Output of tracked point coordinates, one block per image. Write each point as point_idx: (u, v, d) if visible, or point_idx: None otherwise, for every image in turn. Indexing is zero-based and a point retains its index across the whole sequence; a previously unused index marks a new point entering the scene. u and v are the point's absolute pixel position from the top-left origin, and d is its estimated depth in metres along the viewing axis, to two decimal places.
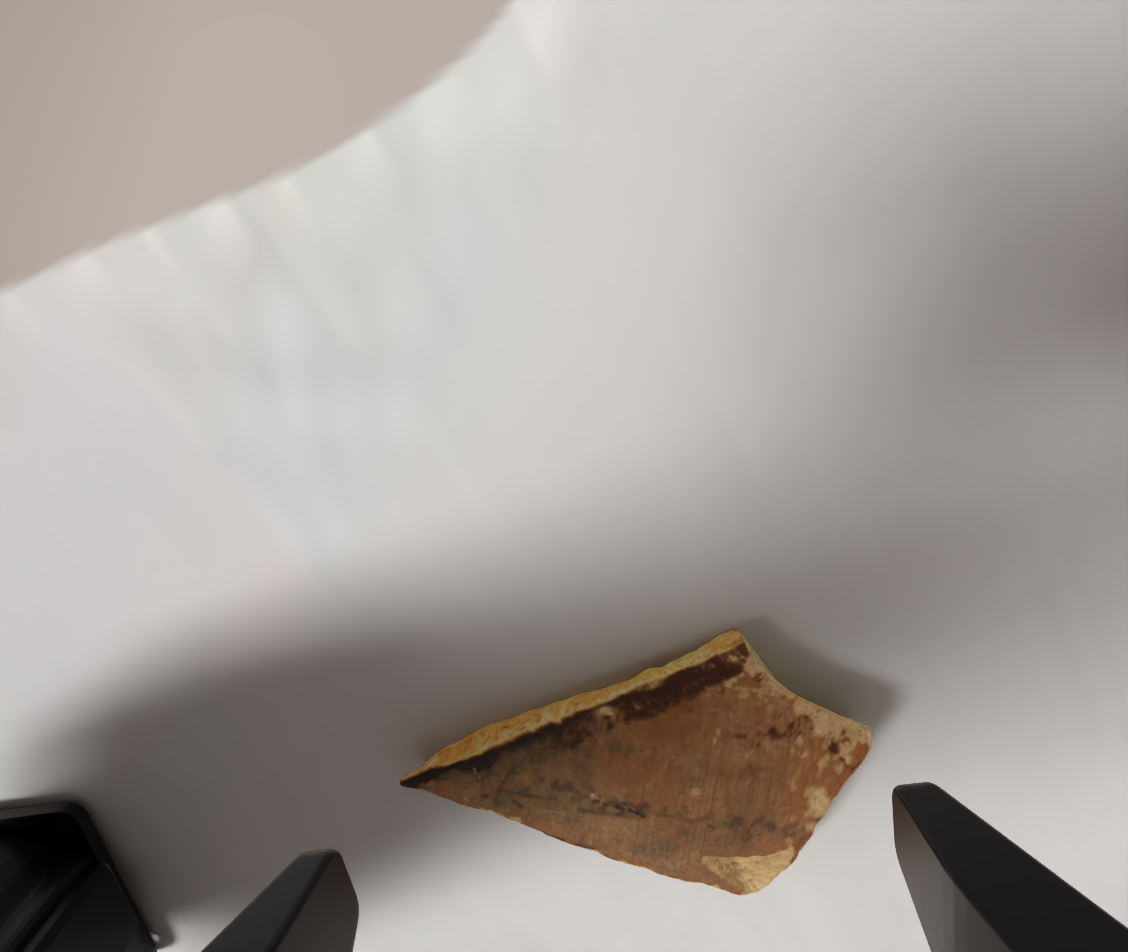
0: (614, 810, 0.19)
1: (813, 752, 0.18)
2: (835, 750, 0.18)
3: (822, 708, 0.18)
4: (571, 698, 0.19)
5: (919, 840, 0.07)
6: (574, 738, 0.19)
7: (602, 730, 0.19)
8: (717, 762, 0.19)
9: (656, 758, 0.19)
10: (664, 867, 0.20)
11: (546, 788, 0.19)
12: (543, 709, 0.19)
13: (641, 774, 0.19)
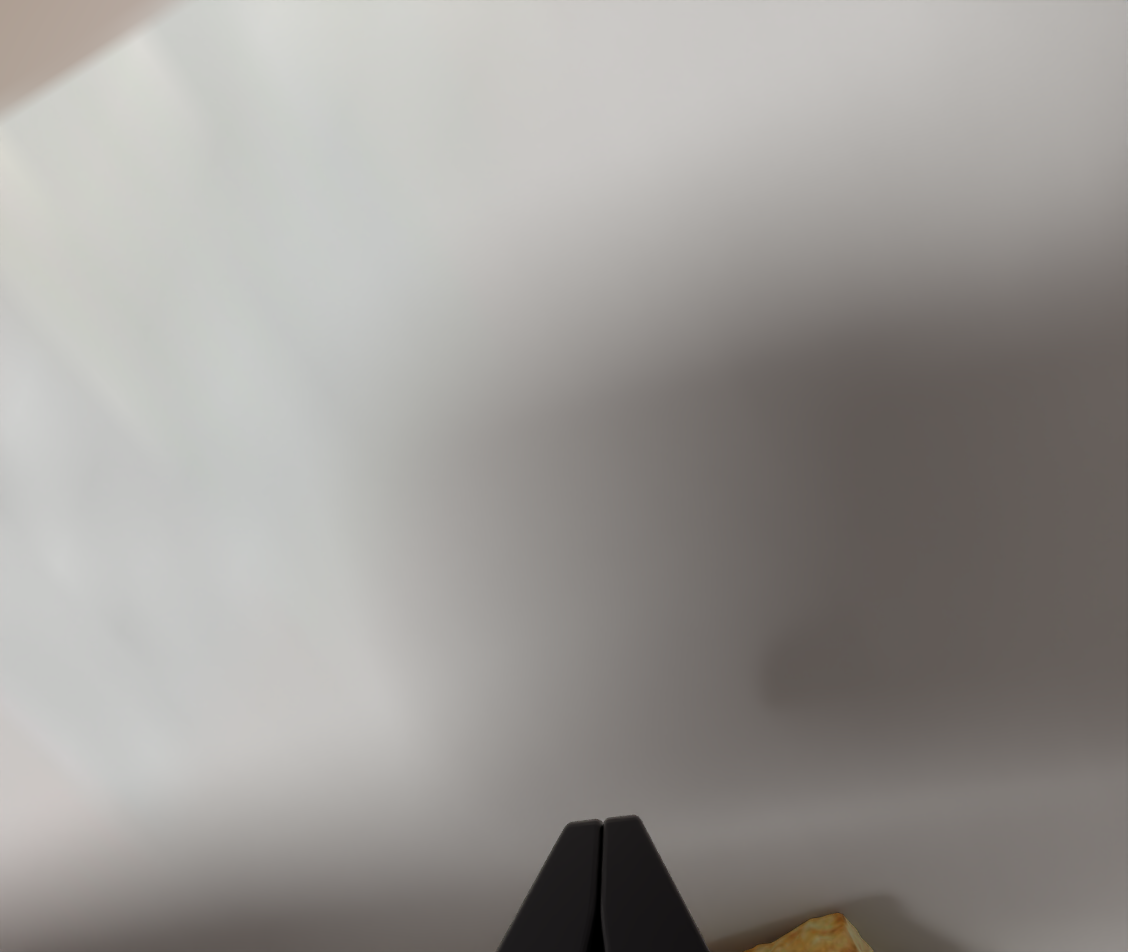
0: None
1: None
2: None
3: None
4: None
5: (603, 872, 0.07)
6: None
7: None
8: None
9: None
10: None
11: None
12: None
13: None
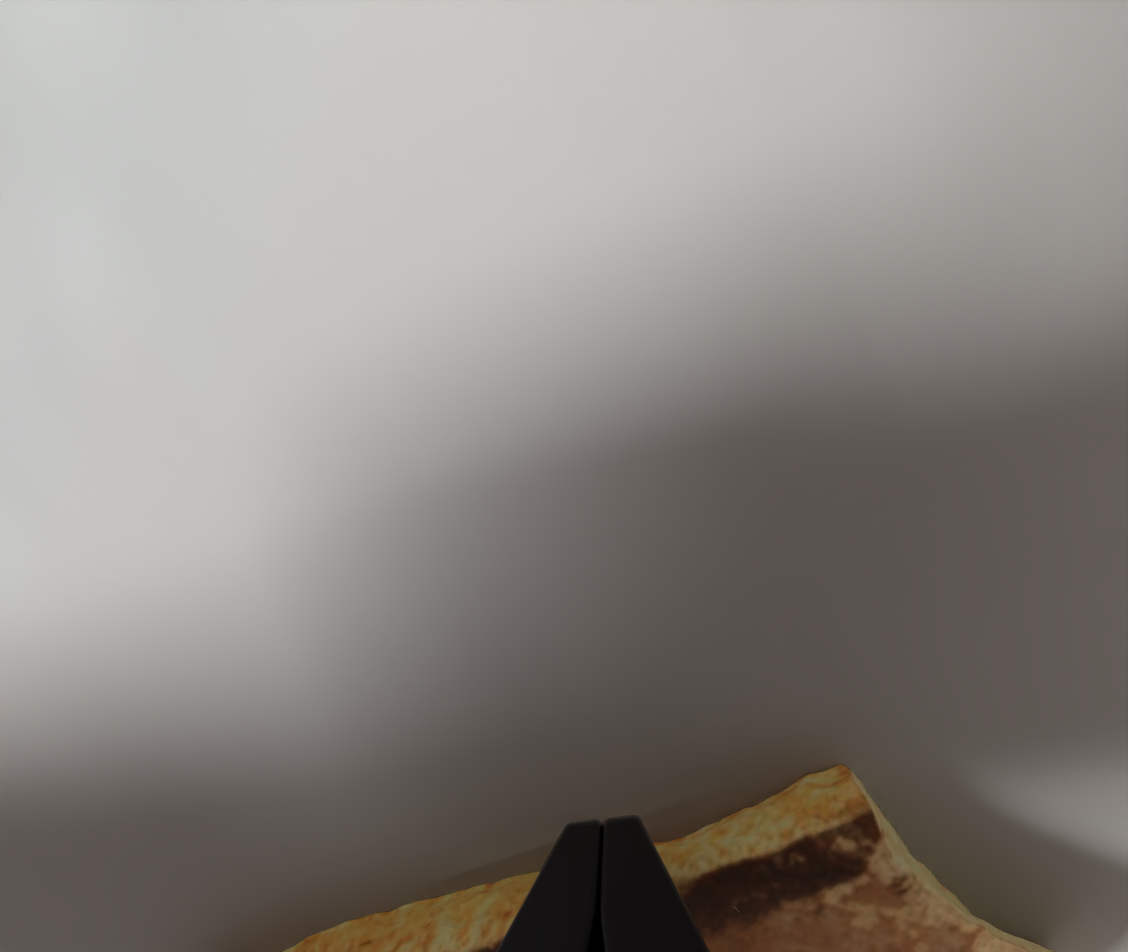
0: None
1: None
2: None
3: (1033, 949, 0.08)
4: (498, 893, 0.10)
5: (602, 872, 0.07)
6: None
7: None
8: None
9: None
10: None
11: None
12: (442, 911, 0.10)
13: None
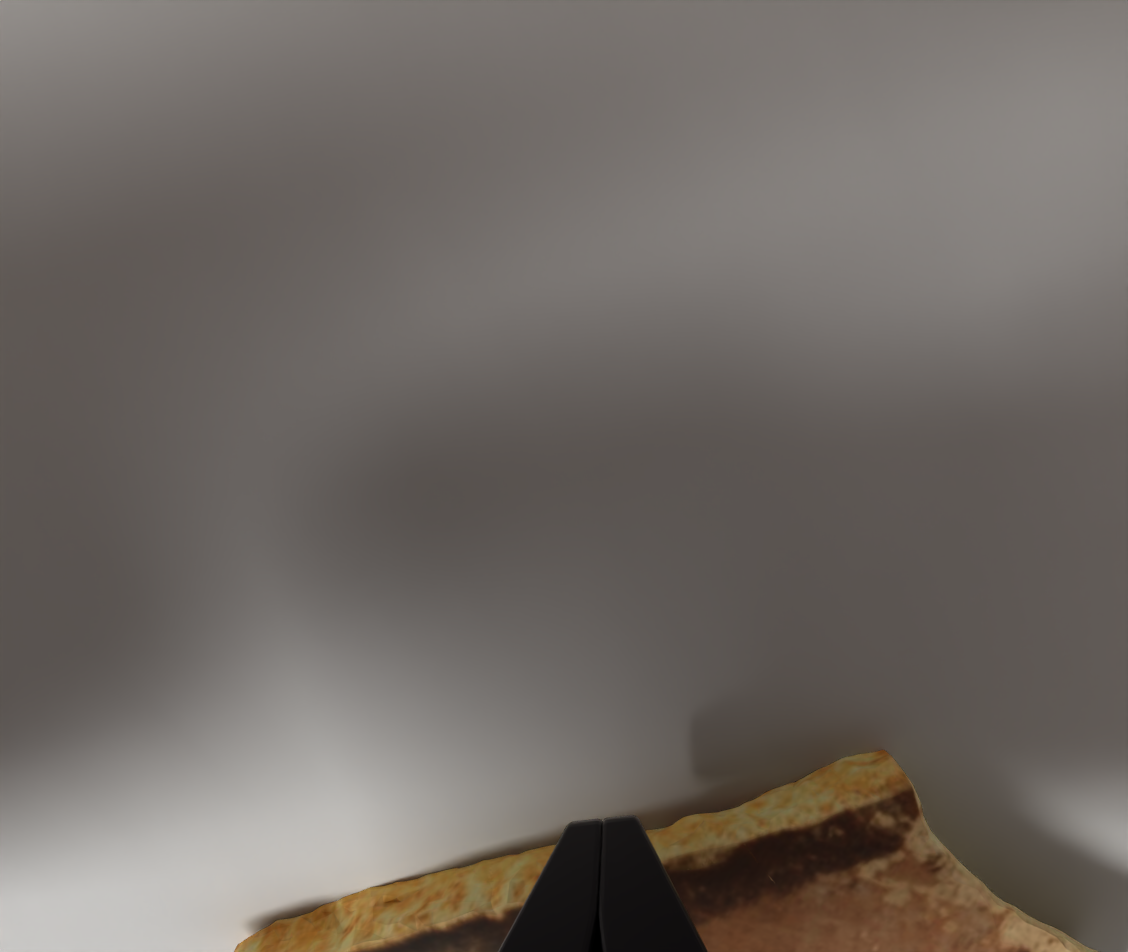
0: None
1: None
2: None
3: (1057, 934, 0.09)
4: (529, 856, 0.10)
5: (601, 872, 0.07)
6: None
7: None
8: None
9: None
10: None
11: None
12: (471, 872, 0.10)
13: None
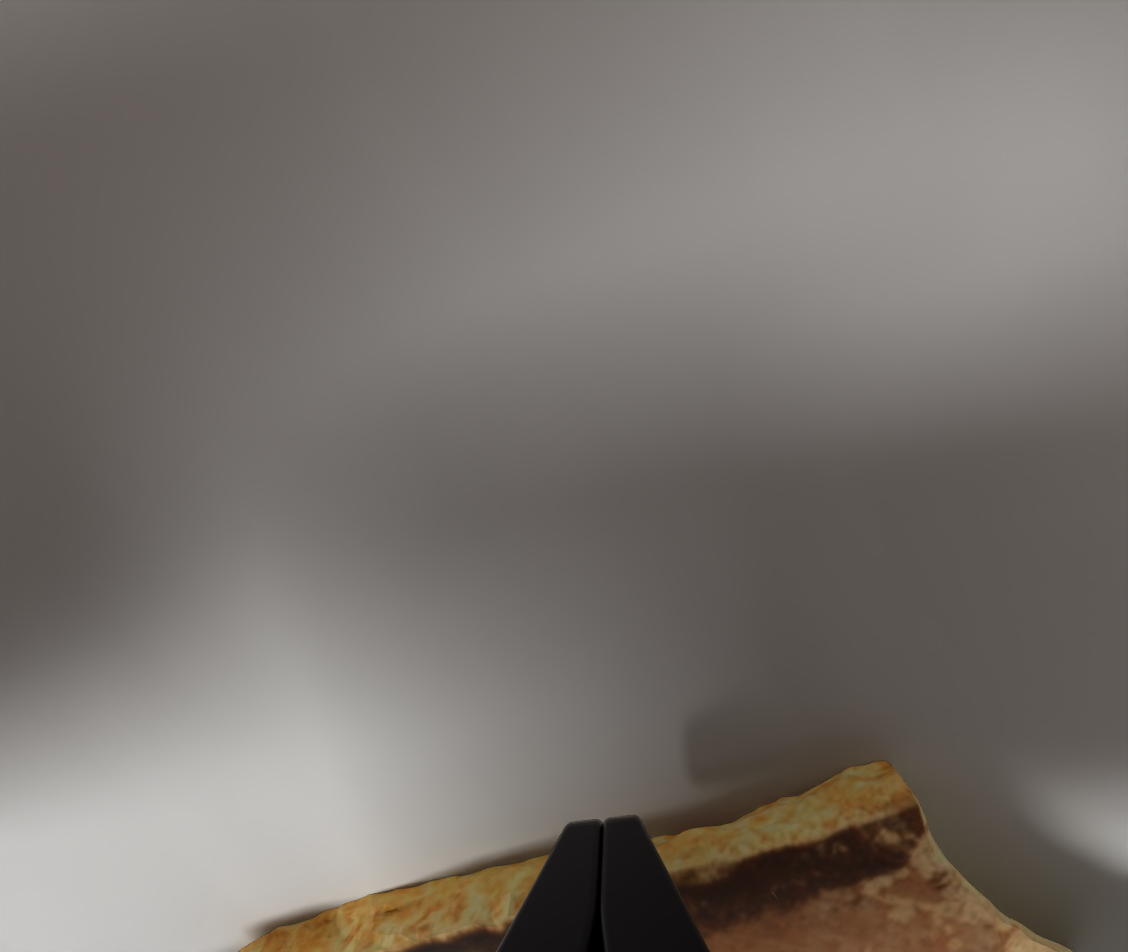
0: None
1: None
2: None
3: None
4: (530, 867, 0.10)
5: (603, 873, 0.07)
6: None
7: None
8: None
9: None
10: None
11: None
12: (472, 882, 0.10)
13: None
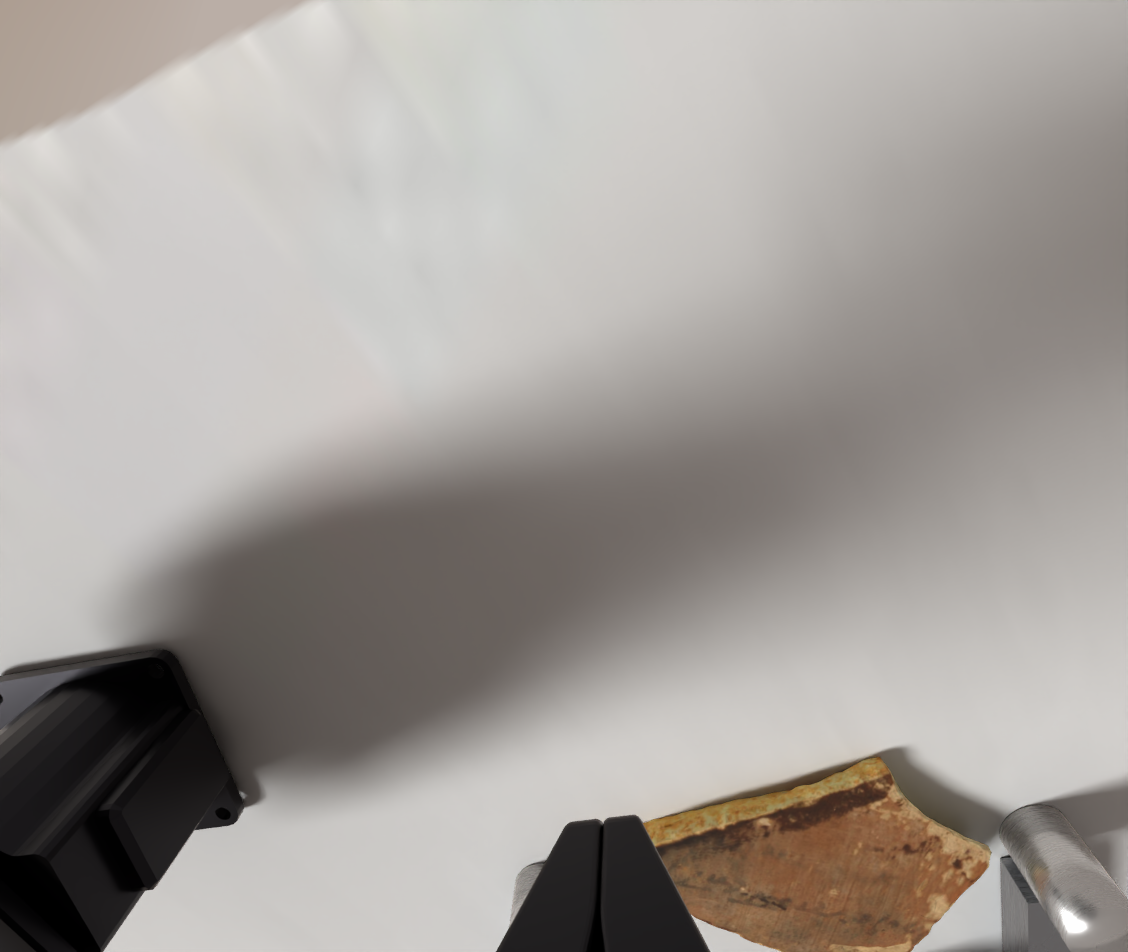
0: (759, 902, 0.23)
1: (939, 866, 0.22)
2: (958, 866, 0.21)
3: (950, 830, 0.21)
4: (728, 805, 0.22)
5: (603, 872, 0.07)
6: (734, 842, 0.22)
7: (759, 837, 0.22)
8: (855, 869, 0.22)
9: (802, 863, 0.22)
10: (795, 950, 0.23)
11: (702, 880, 0.22)
12: (703, 812, 0.23)
13: (787, 874, 0.22)
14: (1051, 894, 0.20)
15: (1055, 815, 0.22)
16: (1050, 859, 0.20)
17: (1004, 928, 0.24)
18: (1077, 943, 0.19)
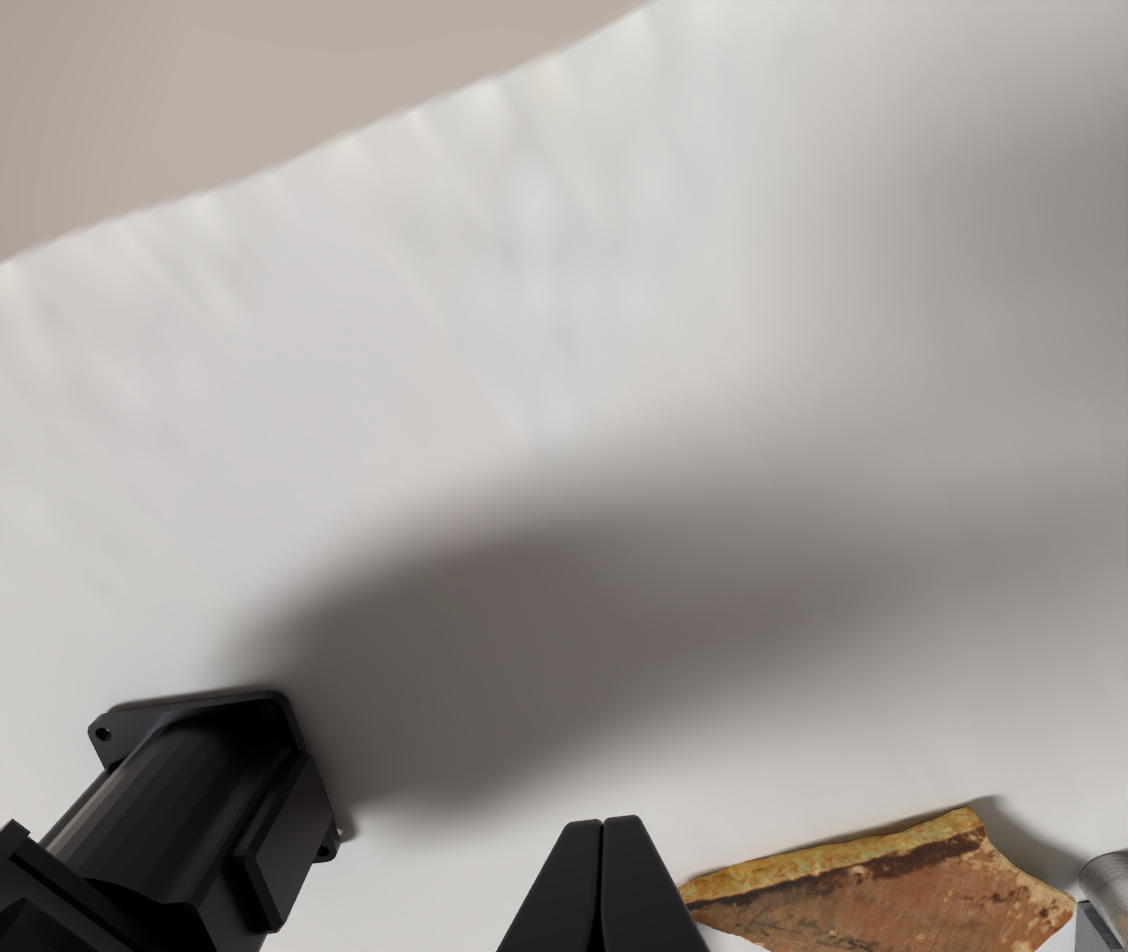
0: (847, 945, 0.23)
1: (1026, 915, 0.22)
2: (1044, 915, 0.22)
3: (1038, 881, 0.22)
4: (820, 850, 0.23)
5: (603, 873, 0.07)
6: (827, 888, 0.23)
7: (852, 884, 0.22)
8: (944, 916, 0.23)
9: (893, 909, 0.23)
10: None
11: (793, 923, 0.23)
12: (794, 857, 0.23)
13: (877, 920, 0.23)
14: None
15: None
16: None
17: None
18: None
